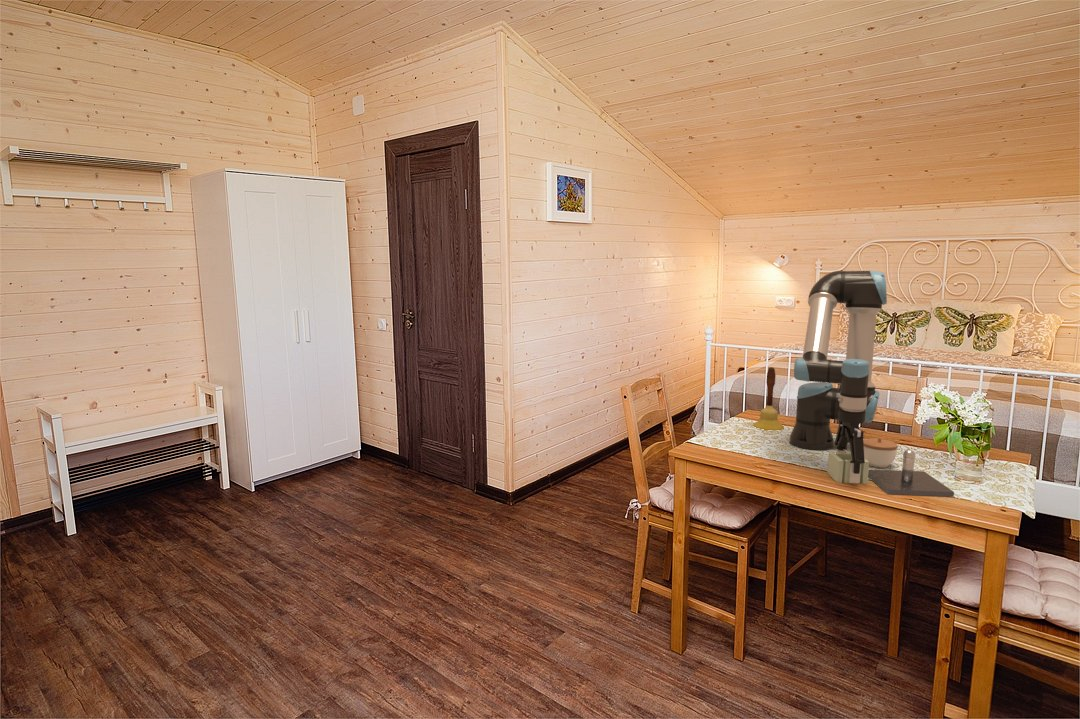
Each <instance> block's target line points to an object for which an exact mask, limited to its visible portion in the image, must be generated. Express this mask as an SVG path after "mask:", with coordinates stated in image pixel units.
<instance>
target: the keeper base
mask: <svg viewBox="0 0 1080 719" xmlns="http://www.w3.org/2000/svg"><path fill="white" fill-rule="evenodd" d="M915 459H916V452H915V451H913V450H912V449H905V450H904V452H903V453H902V466H901V467H902V468H901V470H896V469H895V470H894V469H892V470H891V469H870V468H869V472H868V479H869V480H871V481H872V482H873V483H874V484H875V485H877V487H878V488H879V489H881V490H883V492H884V493H886V494H887V495H899V496H920V497H921V496H922V497H925V496H926V497H941V498H942V497H944V498H945V497H946V498H947V497H948V498H950V497H951V498H955V496H954V495H955V492H954V491H953V490H952V489H950V488H949V487H948V486H946V485H945V484H943V483H942V482H940V481H938V480H937V479H936V478H934V477H933V476H931V475H930V474H929V473H927V472H926V471H923V470H914V468H915V461H916V460H915Z"/></svg>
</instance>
